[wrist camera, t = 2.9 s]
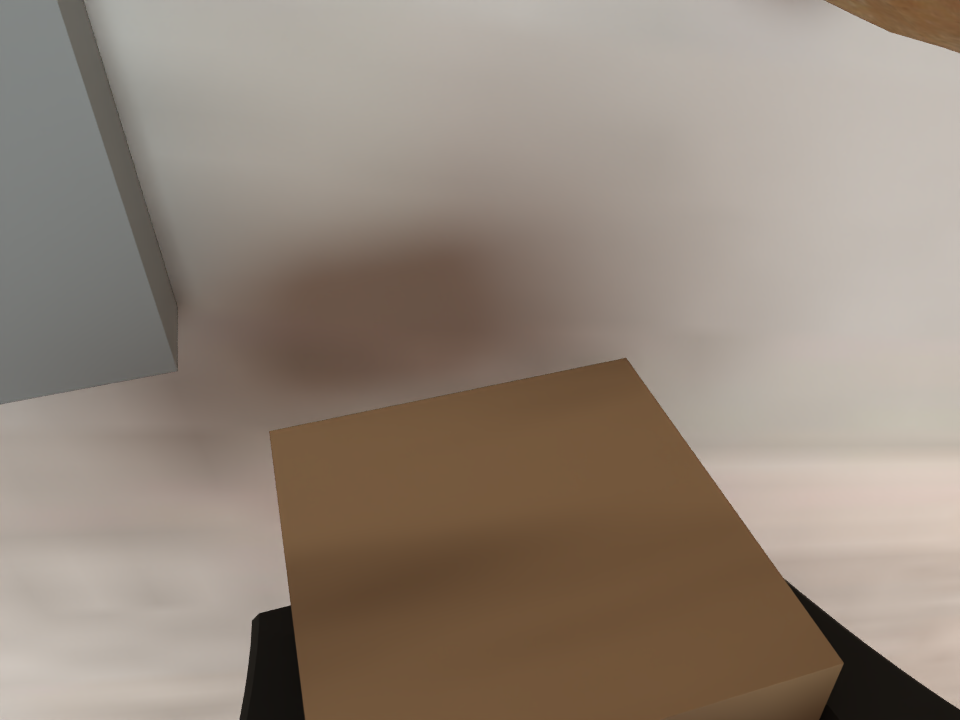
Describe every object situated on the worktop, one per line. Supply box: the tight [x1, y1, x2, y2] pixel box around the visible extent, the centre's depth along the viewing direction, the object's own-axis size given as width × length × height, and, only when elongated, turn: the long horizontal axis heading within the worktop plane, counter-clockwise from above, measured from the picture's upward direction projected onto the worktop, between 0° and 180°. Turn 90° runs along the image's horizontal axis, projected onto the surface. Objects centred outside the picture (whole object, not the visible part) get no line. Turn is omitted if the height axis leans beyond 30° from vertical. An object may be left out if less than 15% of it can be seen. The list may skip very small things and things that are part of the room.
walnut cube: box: [269, 358, 844, 720], centre depth 11 cm, size 5×5×5 cm
